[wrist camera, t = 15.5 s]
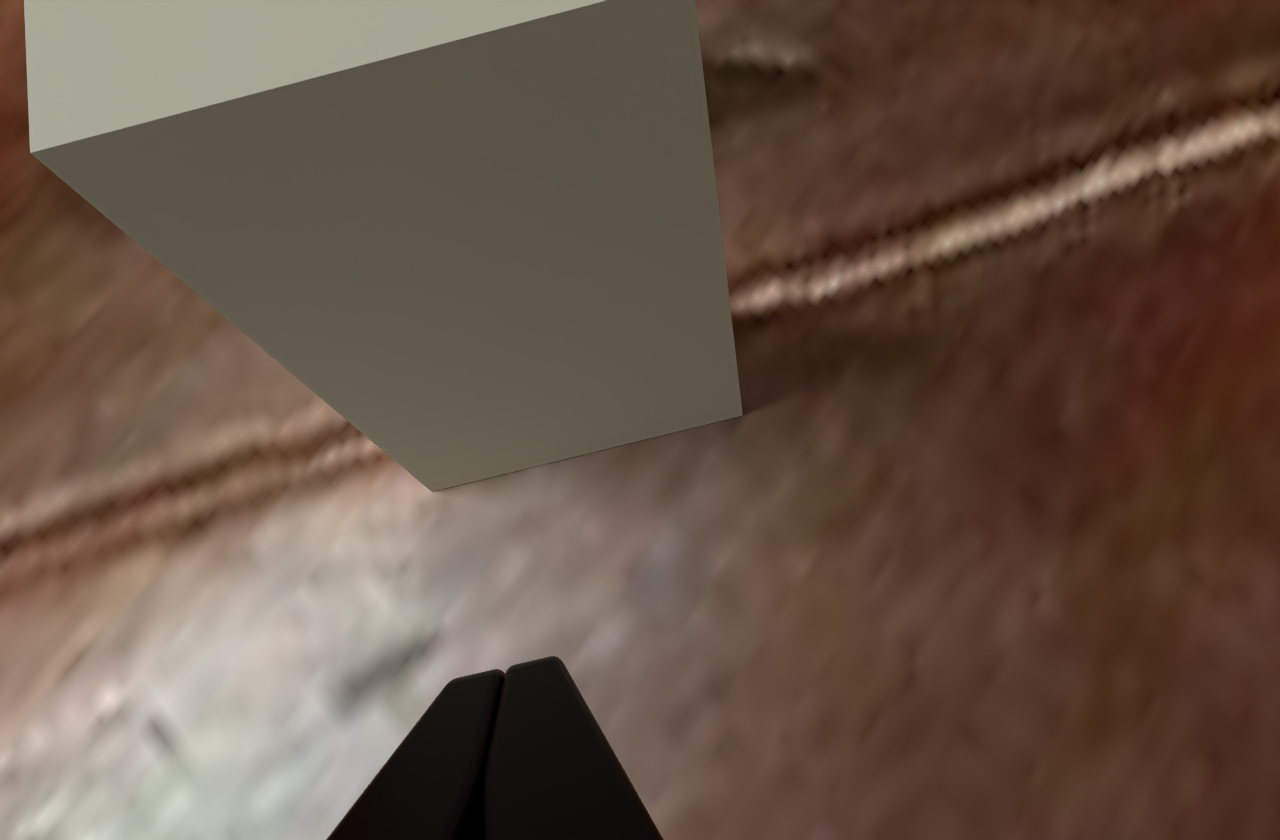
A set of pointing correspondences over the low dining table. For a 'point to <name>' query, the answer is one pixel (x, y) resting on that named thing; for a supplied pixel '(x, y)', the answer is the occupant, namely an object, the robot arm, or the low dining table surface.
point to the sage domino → (419, 204)
